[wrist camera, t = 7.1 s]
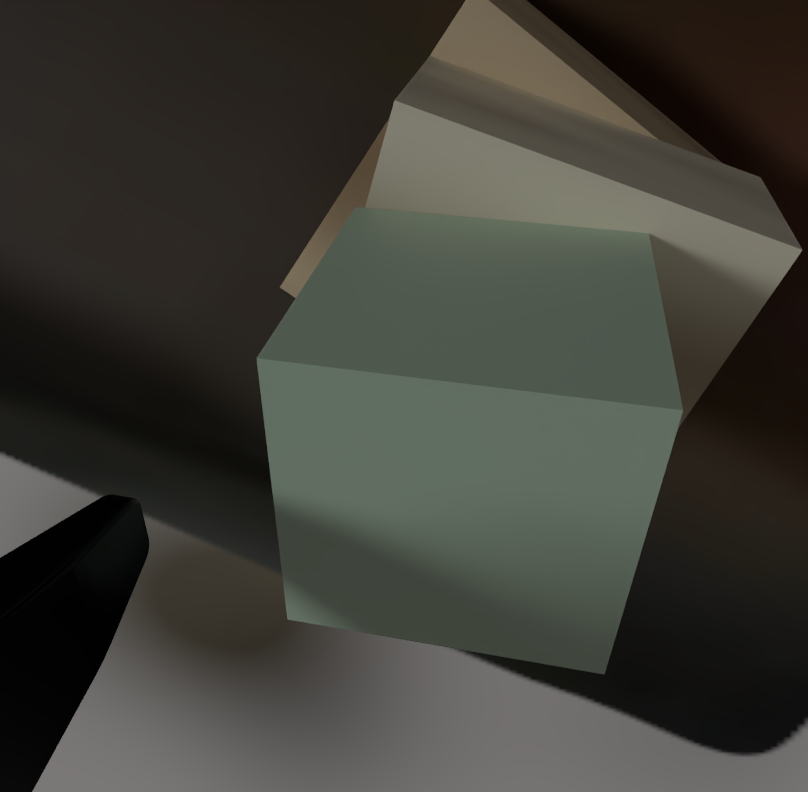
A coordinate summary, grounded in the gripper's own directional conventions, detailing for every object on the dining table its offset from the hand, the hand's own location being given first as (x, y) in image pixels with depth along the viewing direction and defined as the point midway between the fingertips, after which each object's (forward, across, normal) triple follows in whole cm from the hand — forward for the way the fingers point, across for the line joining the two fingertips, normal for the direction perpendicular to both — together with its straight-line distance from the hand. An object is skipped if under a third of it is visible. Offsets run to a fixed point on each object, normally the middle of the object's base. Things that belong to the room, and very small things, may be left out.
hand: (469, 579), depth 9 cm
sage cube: (+6, 0, 0) cm, 6 cm away
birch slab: (+9, 0, 0) cm, 9 cm away
